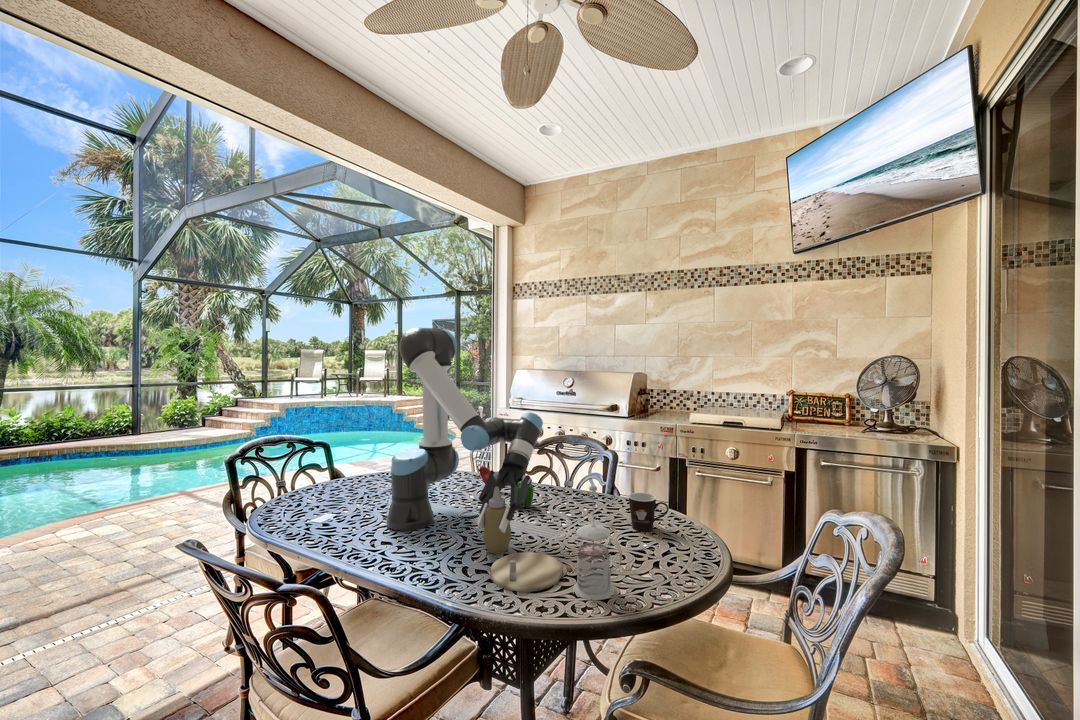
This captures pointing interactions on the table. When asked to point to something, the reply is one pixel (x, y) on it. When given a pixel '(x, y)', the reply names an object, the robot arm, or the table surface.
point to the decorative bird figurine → (485, 474)
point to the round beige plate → (526, 571)
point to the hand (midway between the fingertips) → (490, 528)
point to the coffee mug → (643, 511)
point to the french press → (597, 581)
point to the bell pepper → (528, 496)
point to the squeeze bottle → (496, 525)
